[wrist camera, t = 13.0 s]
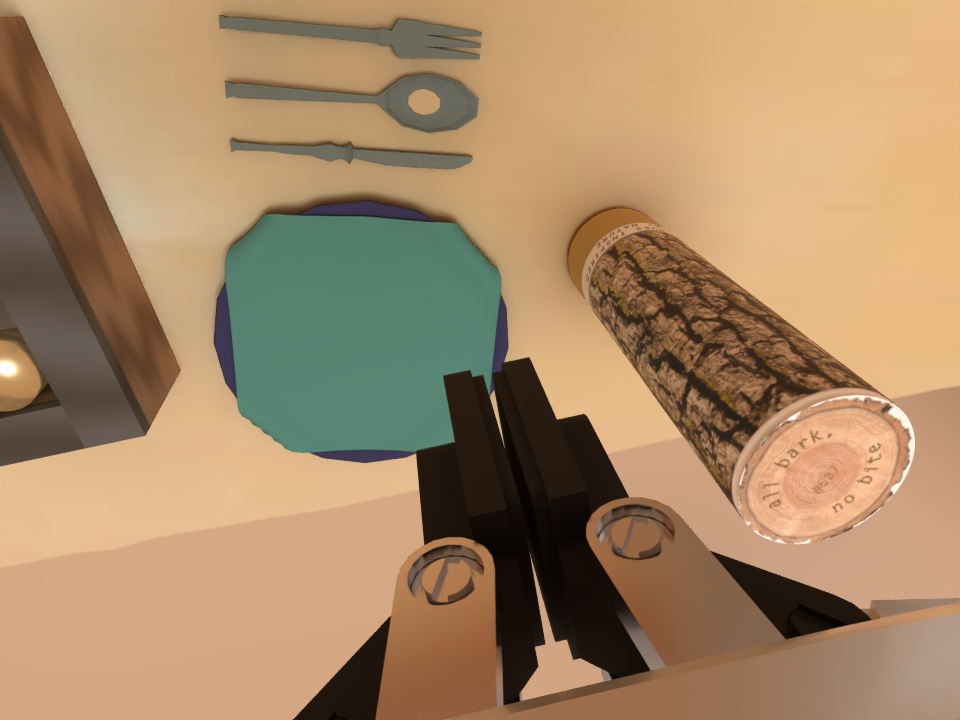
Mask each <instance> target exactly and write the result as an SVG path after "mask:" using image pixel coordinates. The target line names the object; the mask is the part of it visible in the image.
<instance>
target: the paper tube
mask: <svg viewBox="0 0 960 720" xmlns="http://www.w3.org/2000/svg"><path fill="white" fill-rule="evenodd" d="M568 266H569V272H570V275H571V278H572V280H573V282H574V284H575V286H576V287H577V289H578V290H579V291H580V293H581V294H582V295H583V297H584V298H585V300H586V301H587V303H588V304H589V306H590V307H591V309H592V310H593V311H594V313H595V314H596V316H597V317H598V318H599V320H600V321H601V323H602V324H603V325H604V327H605V328H606V330H607V331H608V332H609V334H610V335H611V337H612V338H613V339H614V341H615V342H616V343H617V345H618V346H619V348H620V349H621V350H622V352H623V353H624V355H625V356H626V357H627V359H628V360H629V362H630V363H631V364H632V366H633V367H634V369H635V370H636V371H637V373H638V374H639V375H640V377H641V378H642V380H643V381H644V382H645V384H646V385H647V387H648V388H649V389H650V391H651V392H652V394H653V395H654V396H655V398H656V399H657V401H658V402H659V403H660V405H661V406H662V408H663V409H664V410H665V412H666V413H667V414H668V416H669V417H670V419H671V420H672V421H673V423H674V424H675V426H676V427H677V428H678V430H679V431H680V433H681V434H682V435H683V437H684V438H685V440H686V441H687V442H688V444H689V445H690V447H691V448H692V449H693V451H694V452H695V453H696V455H697V456H698V458H699V459H700V460H701V462H702V463H703V464H704V466H705V467H706V469H707V470H708V471H709V473H710V474H711V476H712V477H713V478H714V480H715V481H716V483H717V484H718V485H719V487H720V488H721V490H722V491H723V492H724V494H725V495H726V497H727V498H728V499H729V501H730V502H731V504H732V505H733V506H734V508H735V509H736V510H737V512H738V513H739V515H740V516H741V517H742V518H743V519H744V520H745V522H746V523H747V524H748V526H749V527H751V529H752V530H753V531H755V532H756V533H757V534H759V535H761V536H762V537H764V538H766V539H769V540H772V541H775V542H779V543H787V544H804V543H812V542H817V541H821V540H825V539H828V538H831V537H834V536H837V535H839V534H842V533H844V532H846V531H848V530H850V529H852V528H854V527H855V526H857V525H859V524H860V523H862V522H863V521H865V520H866V519H868V518H869V517H870V516H872V515H873V514H874V513H876V512H877V511H878V510H879V509H880V508H881V507H882V506H883V505H884V504H885V503H886V502H887V501H888V500H889V499H890V498H891V497H892V496H893V495H894V493H895V492H896V491H897V489H898V488H899V487H900V485H901V484H902V482H903V480H904V479H905V477H906V475H907V473H908V471H909V468H910V465H911V463H912V459H913V455H914V449H915V440H914V432H913V428H912V426H911V423H910V421H909V419H908V418H907V416H906V415H905V414H904V413H903V411H902V410H900V409H899V408H898V407H897V406H895V405H894V404H893V403H892V402H891V401H890V400H889V399H888V398H887V397H885V396H884V395H883V394H881V393H880V392H879V391H877V390H876V389H875V388H873V387H872V386H871V385H869V384H868V383H867V382H866V381H864V380H863V379H862V378H860V377H859V376H858V375H856V374H855V373H854V372H852V371H851V370H850V369H848V368H847V367H846V366H845V365H843V364H842V363H841V362H839V361H838V360H837V359H835V358H834V357H833V356H831V355H830V354H829V353H827V352H826V351H825V350H823V349H822V348H821V347H820V346H818V345H817V344H816V343H814V342H813V341H812V340H810V339H809V338H808V337H806V336H805V335H804V334H802V333H801V332H800V331H799V330H797V329H796V328H795V327H793V326H792V325H791V324H789V323H788V322H787V321H785V320H784V319H783V318H781V317H780V316H779V315H778V314H776V313H775V312H774V311H772V310H771V309H770V308H768V307H767V306H766V305H764V304H763V303H762V302H760V301H759V300H758V299H757V298H755V297H754V296H753V295H751V294H750V293H749V292H747V291H746V290H745V289H743V288H742V287H741V286H739V285H738V284H737V283H736V282H734V281H733V280H732V279H730V278H729V277H728V276H726V275H725V274H724V273H722V272H721V271H720V270H718V269H717V268H716V267H714V266H713V265H712V264H711V263H709V262H708V261H707V260H705V259H704V258H703V257H701V256H700V255H699V254H697V253H696V252H695V251H693V250H692V249H691V248H690V247H688V246H687V245H686V244H684V243H683V242H682V241H680V240H679V239H678V238H676V237H675V236H674V235H672V234H671V233H670V232H669V231H667V230H666V229H664V228H663V227H661V226H660V225H659V224H657V223H656V222H655V221H653V220H652V219H651V218H649V217H648V216H647V215H645V214H643V213H641V212H639V211H636V210H632V209H626V208H618V209H611V210H608V211H605V212H602V213H600V214H598V215H596V216H594V217H593V218H592V219H590V220H589V221H588V222H587V223H585V224H584V225H583V226H582V228H581V229H580V230H579V231H578V233H577V234H576V236H575V238H574V240H573V242H572V244H571V247H570V251H569V257H568Z"/></svg>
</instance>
